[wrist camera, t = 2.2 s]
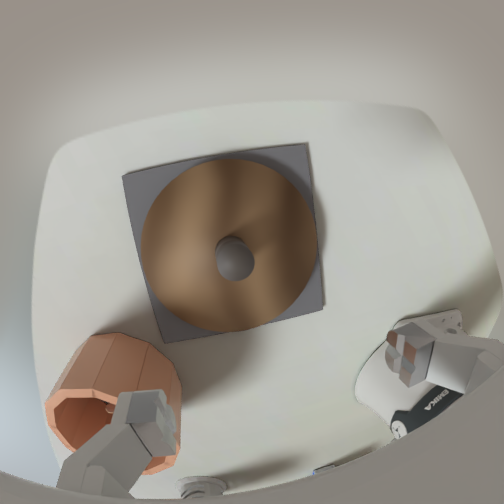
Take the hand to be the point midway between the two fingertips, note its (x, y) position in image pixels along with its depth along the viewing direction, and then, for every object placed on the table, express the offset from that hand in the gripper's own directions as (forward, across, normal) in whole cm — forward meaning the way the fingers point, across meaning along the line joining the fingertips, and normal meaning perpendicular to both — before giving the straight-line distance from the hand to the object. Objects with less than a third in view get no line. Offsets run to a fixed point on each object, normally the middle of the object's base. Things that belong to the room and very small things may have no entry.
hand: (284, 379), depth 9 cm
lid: (+20, 0, 0) cm, 20 cm away
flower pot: (+20, +16, +14) cm, 29 cm away
